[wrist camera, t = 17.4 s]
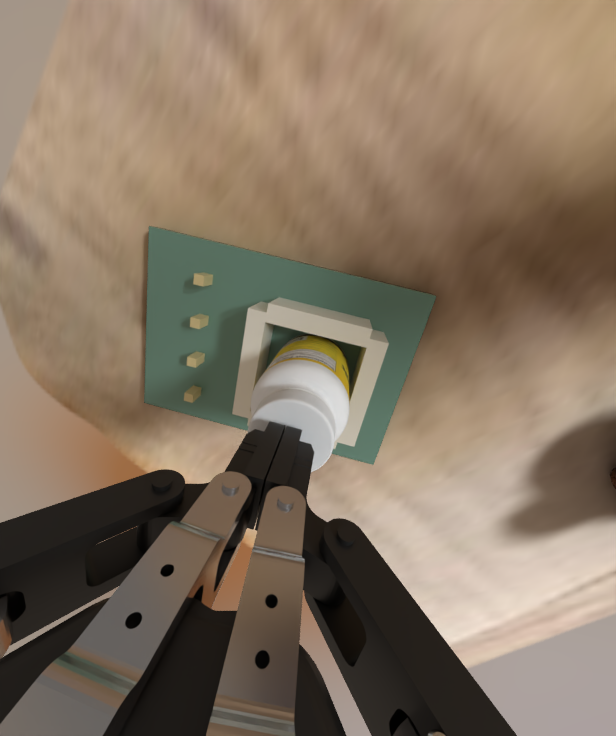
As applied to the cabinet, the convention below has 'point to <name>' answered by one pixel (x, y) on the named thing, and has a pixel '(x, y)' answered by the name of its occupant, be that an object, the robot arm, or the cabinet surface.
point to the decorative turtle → (613, 477)
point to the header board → (271, 332)
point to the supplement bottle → (305, 393)
